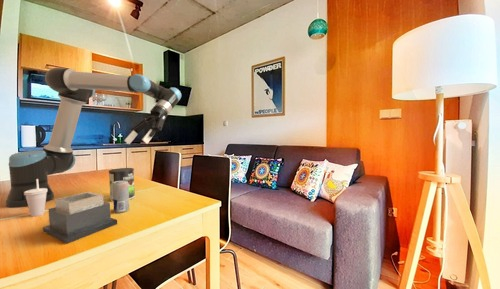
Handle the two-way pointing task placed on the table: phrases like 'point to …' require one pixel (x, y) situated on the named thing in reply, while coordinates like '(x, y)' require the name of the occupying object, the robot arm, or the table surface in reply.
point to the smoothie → (36, 200)
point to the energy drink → (120, 196)
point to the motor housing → (78, 217)
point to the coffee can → (122, 175)
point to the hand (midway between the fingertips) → (135, 142)
